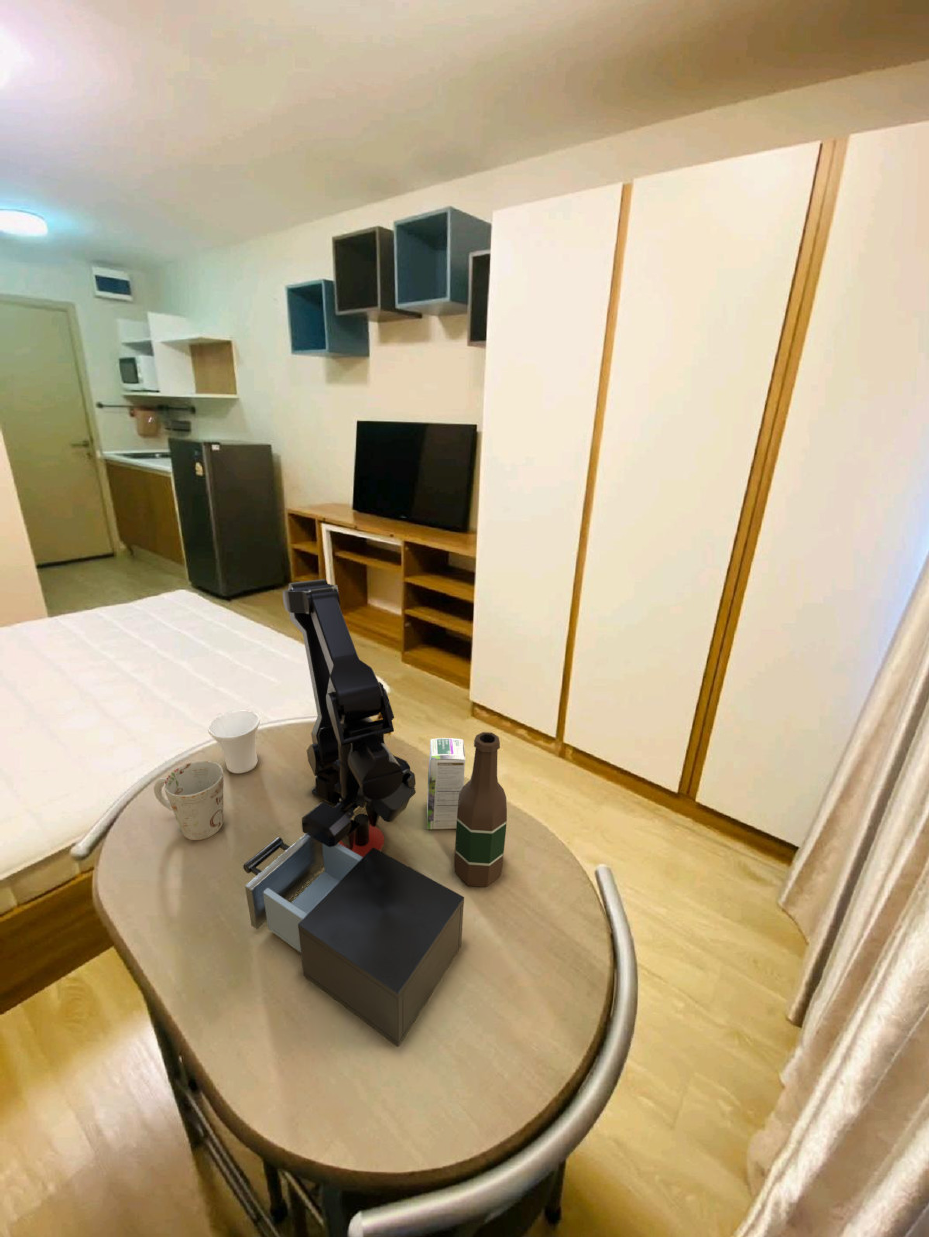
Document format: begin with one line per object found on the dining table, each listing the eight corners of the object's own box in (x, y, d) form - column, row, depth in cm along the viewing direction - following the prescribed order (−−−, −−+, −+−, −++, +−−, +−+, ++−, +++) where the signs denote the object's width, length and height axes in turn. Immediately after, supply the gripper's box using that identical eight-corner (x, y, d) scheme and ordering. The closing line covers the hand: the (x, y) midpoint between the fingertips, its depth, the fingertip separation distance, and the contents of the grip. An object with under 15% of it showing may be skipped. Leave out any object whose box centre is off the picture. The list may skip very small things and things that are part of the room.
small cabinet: (303, 975, 64) (297, 924, 60) (374, 894, 75) (373, 846, 71) (398, 1047, 57) (398, 994, 54) (461, 946, 68) (464, 897, 65)
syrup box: (426, 805, 92) (428, 737, 86) (459, 805, 92) (463, 737, 87) (427, 830, 87) (428, 759, 81) (462, 829, 87) (466, 758, 82)
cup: (246, 745, 105) (240, 702, 101) (275, 763, 100) (270, 720, 97) (204, 767, 99) (196, 722, 95) (232, 788, 94) (225, 742, 90)
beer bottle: (510, 858, 82) (523, 731, 73) (491, 897, 75) (503, 762, 66) (465, 841, 85) (473, 716, 76) (443, 876, 78) (449, 744, 69)
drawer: (226, 907, 71) (219, 868, 68) (296, 847, 81) (292, 811, 78) (326, 981, 63) (322, 939, 60) (390, 904, 73) (389, 865, 70)
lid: (359, 821, 88) (358, 797, 86) (392, 838, 85) (392, 814, 83) (330, 848, 82) (328, 823, 80) (364, 868, 79) (363, 843, 77)
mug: (209, 850, 81) (199, 800, 77) (139, 835, 83) (126, 785, 79) (241, 813, 88) (233, 765, 84) (176, 800, 90) (165, 752, 87)
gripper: (358, 816, 66) (361, 904, 72) (438, 742, 81) (436, 820, 87) (295, 783, 71) (303, 868, 77) (382, 720, 86) (383, 795, 92)
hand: (361, 836), depth 83 cm, fingers open, 5 cm apart
